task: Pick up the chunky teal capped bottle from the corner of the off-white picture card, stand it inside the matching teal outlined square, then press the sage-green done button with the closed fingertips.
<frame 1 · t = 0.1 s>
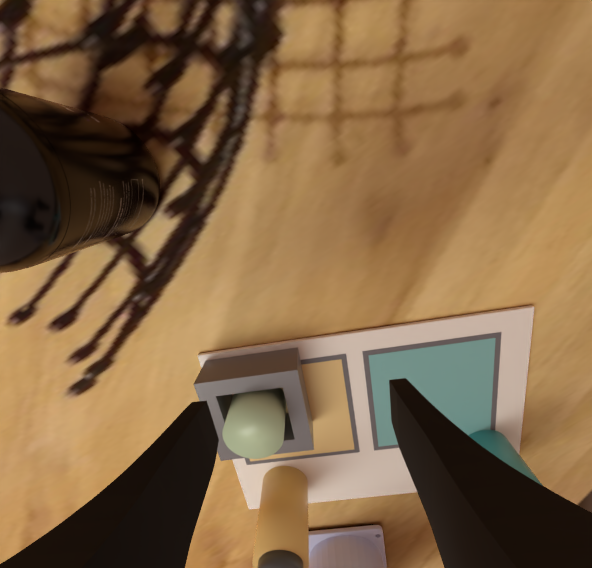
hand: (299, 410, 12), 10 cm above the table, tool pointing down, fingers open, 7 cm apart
teal capped bottle: (482, 448, 25), resting on picture card
supplement bottle: (109, 178, 19), on the table
done button: (256, 417, 21), point 3 cm above the table, slide at 0.0 cm
button collar: (261, 389, 24), resting on picture card
ochre marker: (285, 482, 27), resting on picture card
picture card: (368, 421, 25), on the table
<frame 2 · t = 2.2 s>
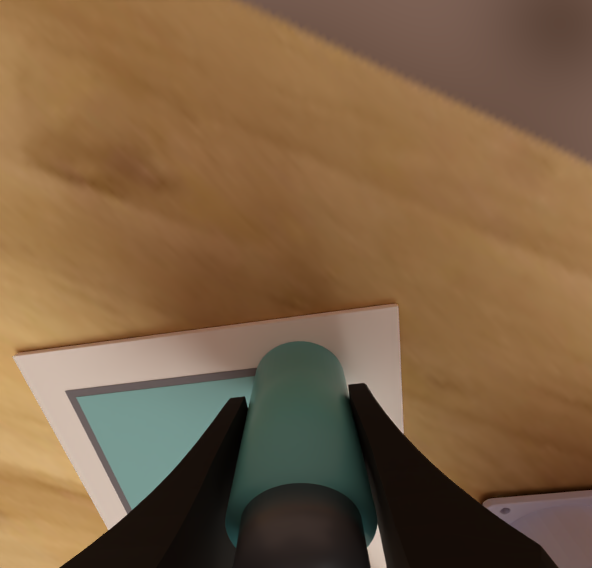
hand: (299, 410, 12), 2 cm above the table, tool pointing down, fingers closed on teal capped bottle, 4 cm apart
teal capped bottle: (299, 380, 14), resting on picture card, touching gripper
picture card: (253, 514, 17), on the table
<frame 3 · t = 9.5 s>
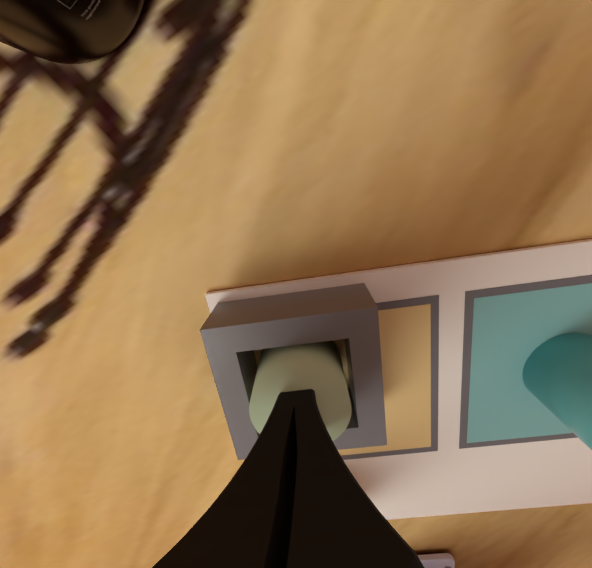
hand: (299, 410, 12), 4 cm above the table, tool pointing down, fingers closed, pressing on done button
teal capped bottle: (563, 367, 15), resting on picture card
done button: (300, 385, 13), point 3 cm above the table, slide at 0.3 cm, touching gripper
button collar: (300, 352, 16), resting on picture card
picture card: (456, 404, 17), on the table
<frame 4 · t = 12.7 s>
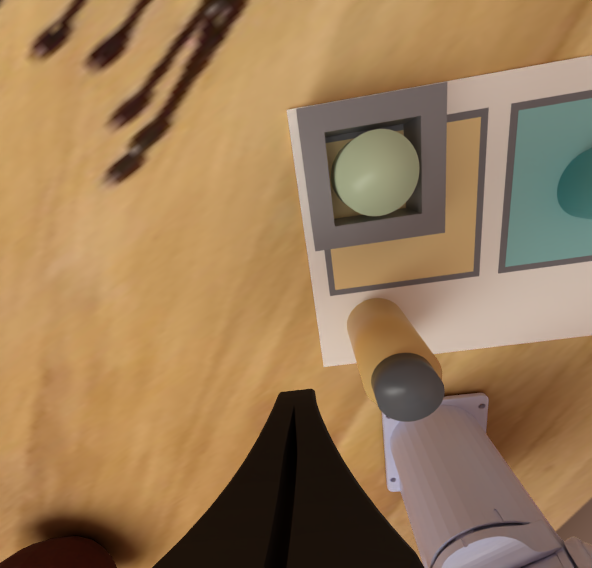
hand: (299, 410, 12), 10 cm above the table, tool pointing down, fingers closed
done button: (370, 174, 16), point 2 cm above the table, slide at 1.0 cm, touching picture card
button collar: (363, 174, 18), resting on picture card
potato: (82, 541, 31), on the table
ochre marker: (375, 324, 21), resting on picture card
picture card: (496, 228, 19), on the table
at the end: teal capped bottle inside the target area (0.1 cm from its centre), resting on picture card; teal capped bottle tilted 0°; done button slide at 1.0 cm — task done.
